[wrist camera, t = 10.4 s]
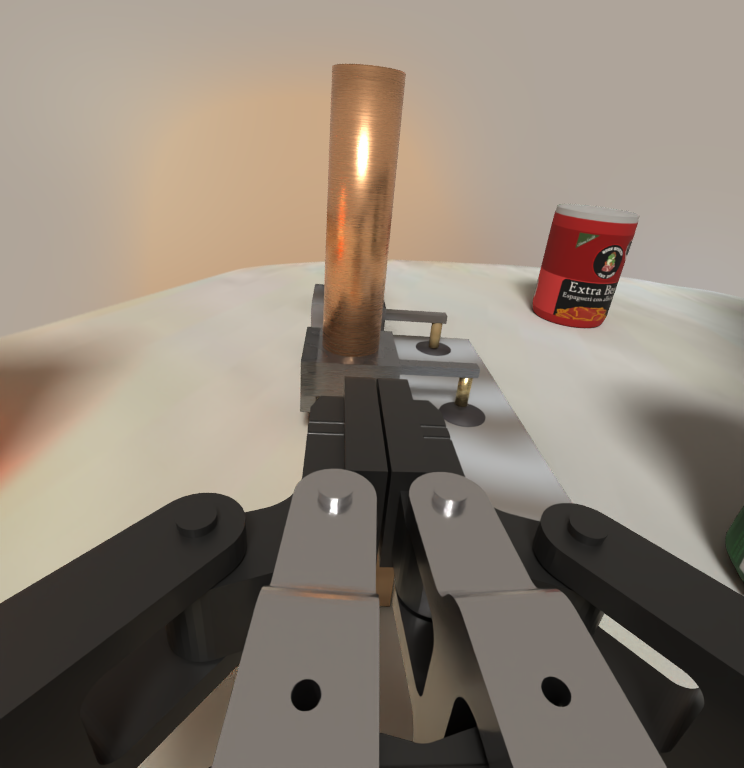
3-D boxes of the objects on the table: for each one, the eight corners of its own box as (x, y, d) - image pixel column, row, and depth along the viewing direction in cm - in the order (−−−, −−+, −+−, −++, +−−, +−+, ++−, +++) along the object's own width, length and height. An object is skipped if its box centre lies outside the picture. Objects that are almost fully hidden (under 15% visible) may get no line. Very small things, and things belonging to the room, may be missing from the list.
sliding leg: (306, 377, 30) (312, 71, 22) (461, 385, 31) (518, 93, 23) (300, 419, 25) (305, 54, 18) (481, 426, 26) (560, 82, 19)
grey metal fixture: (313, 339, 39) (320, 90, 30) (466, 347, 40) (512, 109, 32) (276, 605, 17) (263, -41, 8) (622, 606, 18) (908, 41, 10)
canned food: (555, 329, 46) (588, 213, 41) (517, 303, 53) (541, 201, 48) (620, 329, 48) (660, 218, 43) (575, 304, 55) (605, 206, 50)
